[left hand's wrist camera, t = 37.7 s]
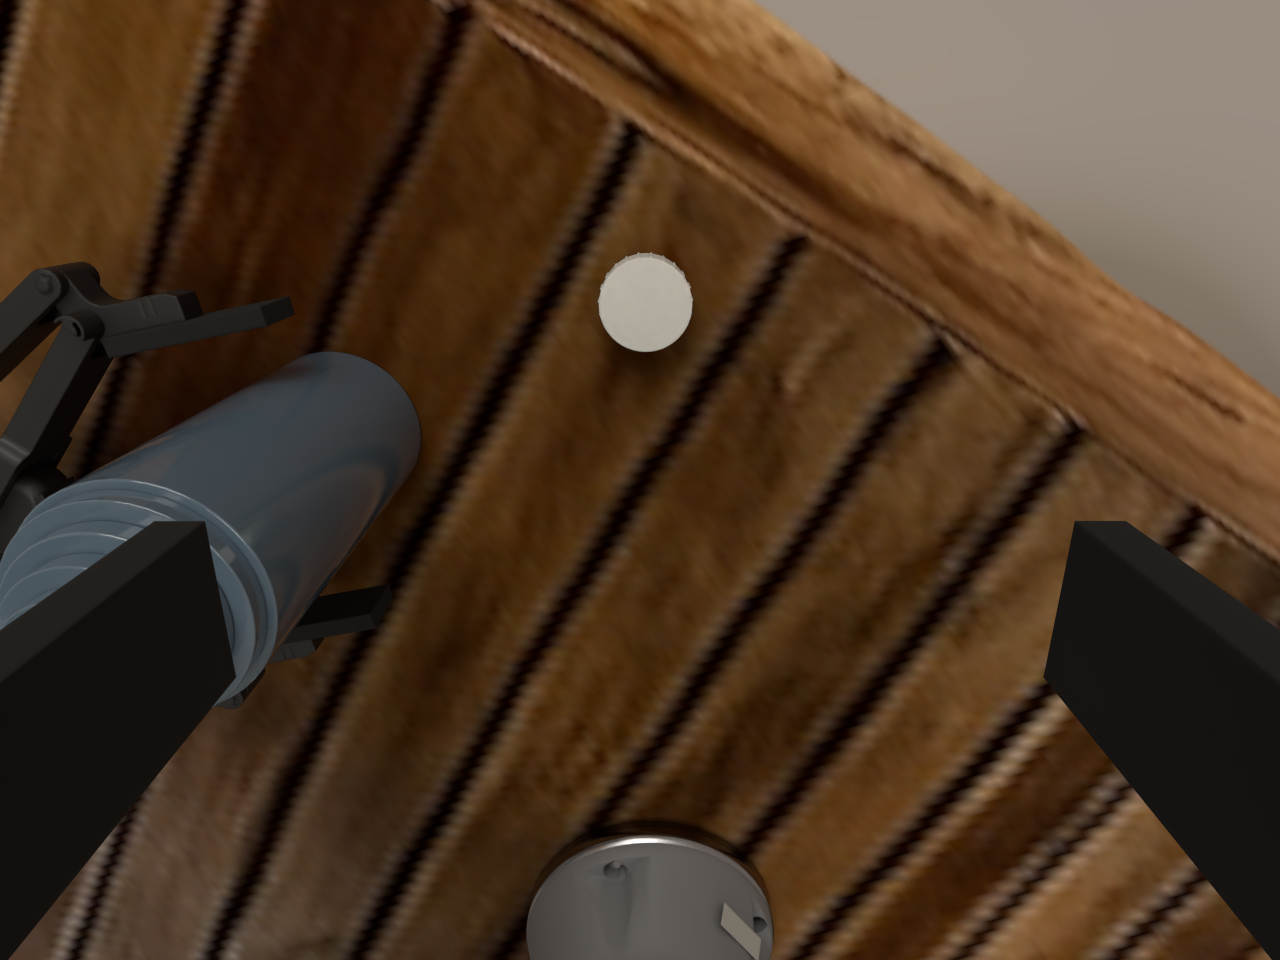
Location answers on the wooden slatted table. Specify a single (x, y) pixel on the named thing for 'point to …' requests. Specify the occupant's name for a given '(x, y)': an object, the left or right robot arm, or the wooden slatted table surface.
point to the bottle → (240, 497)
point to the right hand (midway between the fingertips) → (335, 468)
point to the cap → (645, 302)
